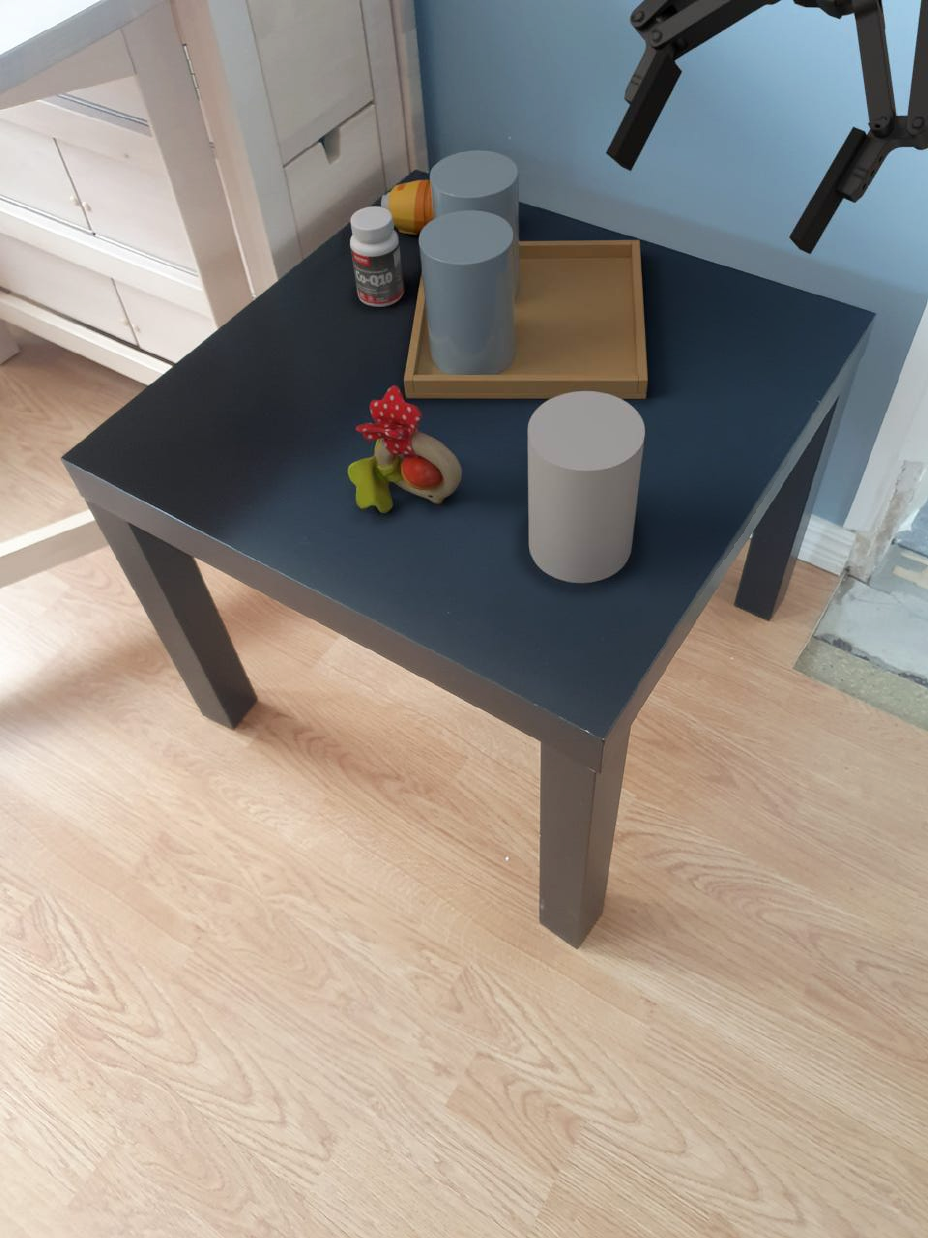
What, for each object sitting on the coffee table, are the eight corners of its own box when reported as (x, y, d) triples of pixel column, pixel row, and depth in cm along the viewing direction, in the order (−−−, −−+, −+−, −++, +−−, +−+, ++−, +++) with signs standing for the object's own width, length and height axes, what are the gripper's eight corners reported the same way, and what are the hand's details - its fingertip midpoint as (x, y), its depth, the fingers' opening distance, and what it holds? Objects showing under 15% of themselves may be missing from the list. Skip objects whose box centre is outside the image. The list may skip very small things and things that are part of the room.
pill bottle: (354, 307, 99) (340, 231, 93) (363, 279, 102) (350, 203, 95) (400, 309, 99) (390, 232, 92) (408, 280, 102) (399, 204, 95)
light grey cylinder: (646, 524, 80) (662, 409, 70) (608, 596, 76) (618, 484, 66) (554, 494, 82) (556, 379, 73) (511, 562, 78) (508, 450, 69)
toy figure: (380, 243, 106) (491, 248, 104) (372, 195, 102) (488, 199, 100) (392, 215, 109) (499, 220, 107) (385, 167, 105) (497, 170, 103)
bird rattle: (450, 490, 86) (354, 444, 85) (496, 408, 77) (389, 356, 76) (428, 543, 83) (328, 497, 82) (474, 464, 74) (362, 410, 72)
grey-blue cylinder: (521, 264, 101) (520, 148, 92) (518, 312, 96) (516, 196, 87) (443, 265, 102) (433, 150, 92) (436, 313, 97) (425, 197, 87)
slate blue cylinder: (517, 325, 95) (515, 208, 86) (514, 380, 90) (511, 263, 81) (434, 325, 96) (423, 210, 86) (427, 380, 91) (414, 264, 82)
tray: (637, 257, 102) (639, 239, 100) (645, 399, 89) (647, 380, 87) (428, 260, 104) (426, 241, 102) (406, 398, 91) (403, 380, 89)
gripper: (1130, -74, 53) (895, 300, 60) (737, -180, 63) (575, 150, 70) (1139, -160, 47) (875, 269, 53) (700, -262, 57) (525, 110, 64)
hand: (704, 202), depth 62 cm, fingers open, 13 cm apart
